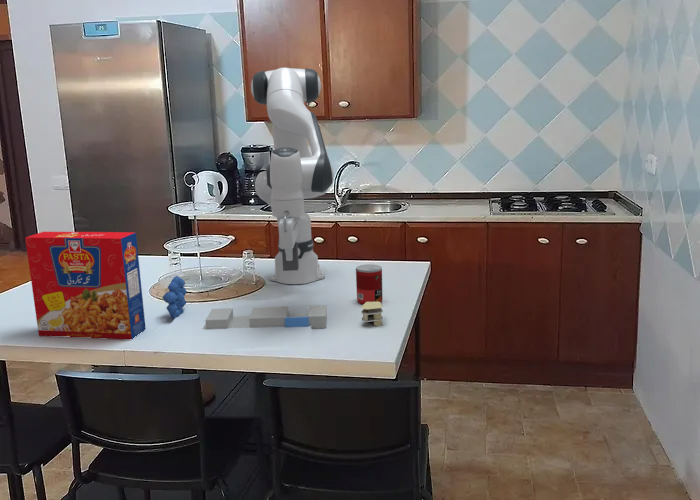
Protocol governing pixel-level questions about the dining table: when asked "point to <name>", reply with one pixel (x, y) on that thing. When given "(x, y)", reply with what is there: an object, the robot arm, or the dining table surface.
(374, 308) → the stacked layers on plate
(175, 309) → the grapes
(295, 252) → the dark grey rectangular box
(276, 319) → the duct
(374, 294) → the canned food
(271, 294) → the dining table surface
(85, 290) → the pasta box
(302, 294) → the dining table surface
